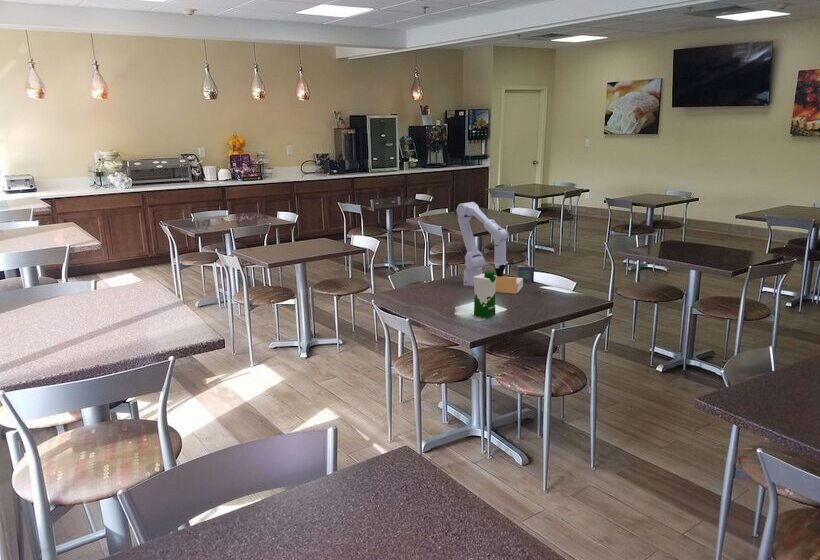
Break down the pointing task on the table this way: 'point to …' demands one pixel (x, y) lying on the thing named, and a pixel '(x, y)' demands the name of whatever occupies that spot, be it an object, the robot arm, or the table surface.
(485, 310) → the milk carton
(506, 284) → the door
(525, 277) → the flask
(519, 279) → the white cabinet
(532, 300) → the table surface
